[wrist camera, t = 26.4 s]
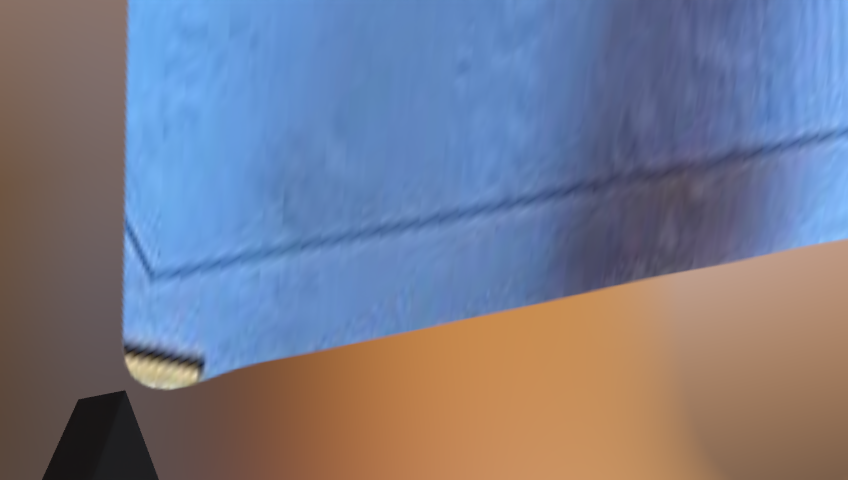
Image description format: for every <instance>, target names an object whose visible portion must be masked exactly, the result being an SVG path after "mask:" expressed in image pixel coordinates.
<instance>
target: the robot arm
mask: <svg viewBox="0 0 848 480" xmlns="http://www.w3.org/2000/svg"><path fill="white" fill-rule="evenodd" d="M42 480H159V479H158V476H157V474H156V471H155V468H154V466H153V463H152V461H151V458H150V455H149V452H148V450H147V447H146V444H145V442H144V439H143V437H142V434H141V431H140V428H139V426H138V423H137V420H136V418H135V415H134V412H133V410H132V407H131V405H130V402H129V399H128V397H127V394H126V391H120V392H114V393H109V394H104V395H99V396H94V397H89V398H84V399H79V400H78V402H77V404H76V406H75V408H74V411H73V413H72V415H71V417H70V419H69V421H68V424H67V426H66V428H65V430H64V432H63V435H62V437H61V439H60V441H59V444H58V446H57V448H56V450H55V452H54V455H53V457H52V459H51V461H50V463H49V466H48V468H47V470H46V472H45V474H44V477H43V479H42Z"/></svg>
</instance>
